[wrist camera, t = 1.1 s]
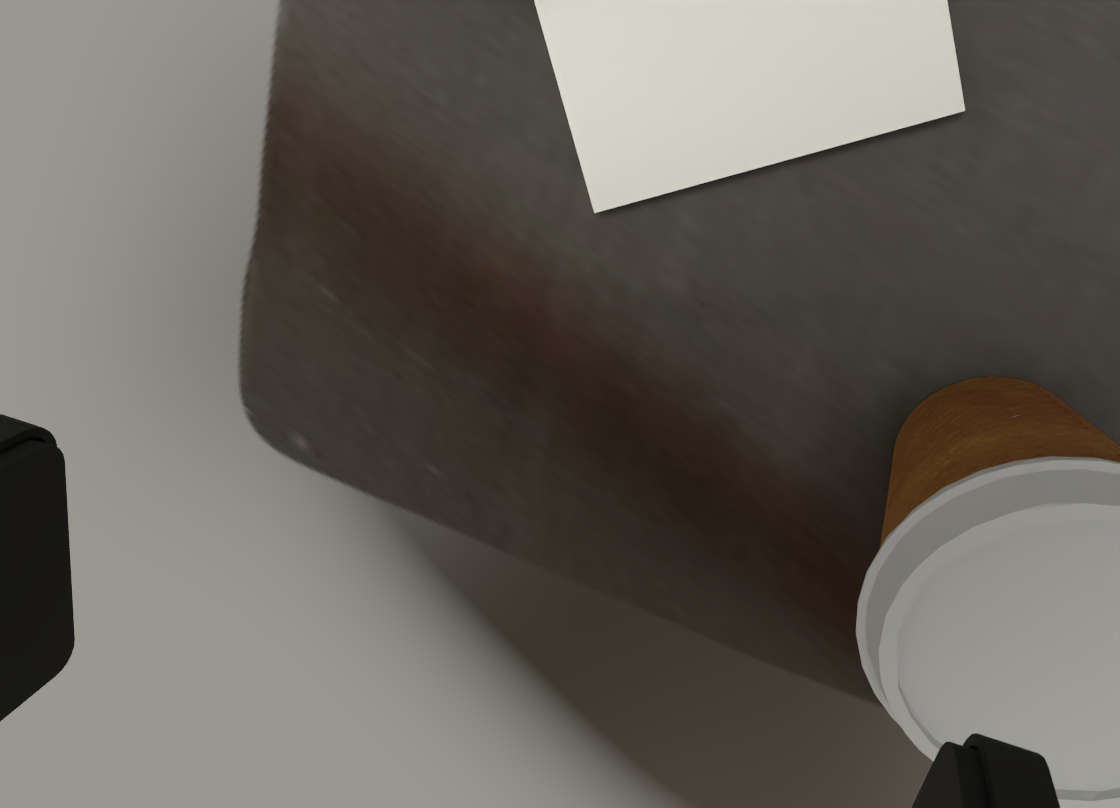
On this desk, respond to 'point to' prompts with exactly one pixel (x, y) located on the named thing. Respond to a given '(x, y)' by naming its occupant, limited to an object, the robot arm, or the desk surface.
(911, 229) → the desk surface
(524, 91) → the desk surface
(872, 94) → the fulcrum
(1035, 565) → the disposable coffee cup
